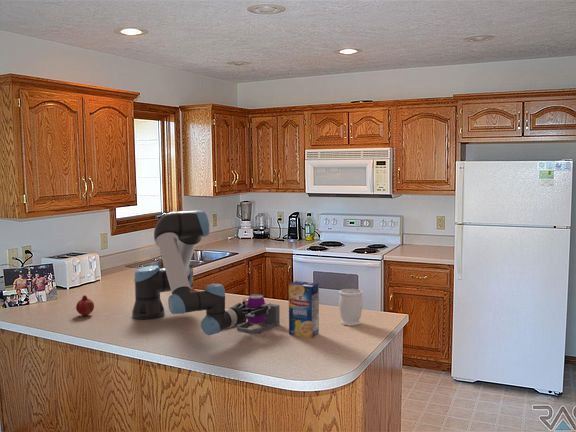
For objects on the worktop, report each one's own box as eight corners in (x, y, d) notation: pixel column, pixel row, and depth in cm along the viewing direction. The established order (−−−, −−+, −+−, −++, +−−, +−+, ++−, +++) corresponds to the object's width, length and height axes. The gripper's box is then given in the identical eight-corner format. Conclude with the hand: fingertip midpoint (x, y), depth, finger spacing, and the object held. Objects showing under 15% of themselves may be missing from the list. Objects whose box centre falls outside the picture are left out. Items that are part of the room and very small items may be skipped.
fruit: (97, 315, 261) (96, 295, 260) (81, 319, 255) (80, 298, 254) (89, 312, 266) (88, 292, 265) (73, 315, 261) (72, 295, 259)
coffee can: (196, 285, 320) (195, 262, 319) (189, 290, 310) (188, 266, 309) (179, 285, 322) (179, 262, 321) (172, 289, 312) (172, 265, 311)
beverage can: (264, 325, 235) (264, 298, 234) (246, 325, 235) (246, 298, 234) (265, 319, 242) (265, 293, 241) (248, 319, 243) (248, 293, 241)
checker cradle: (235, 329, 236) (235, 310, 236) (257, 320, 250) (256, 301, 249) (258, 334, 230) (258, 314, 229) (279, 324, 244) (279, 305, 243)
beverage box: (311, 338, 225) (311, 286, 222) (288, 334, 230) (288, 284, 228) (319, 333, 230) (318, 283, 228) (296, 330, 236) (296, 280, 233)
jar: (364, 321, 248) (364, 289, 246) (359, 327, 238) (360, 294, 236) (341, 319, 251) (341, 287, 250) (336, 325, 241) (336, 293, 240)
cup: (240, 315, 258) (240, 299, 257) (251, 313, 262) (251, 296, 261) (248, 318, 253) (247, 301, 252) (259, 316, 257) (258, 299, 256)
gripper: (212, 321, 229) (244, 308, 248) (251, 329, 218) (281, 315, 237) (211, 304, 228) (243, 292, 247) (251, 312, 217) (281, 299, 236)
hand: (262, 303), depth 242 cm, fingers closed on beverage can, 8 cm apart
